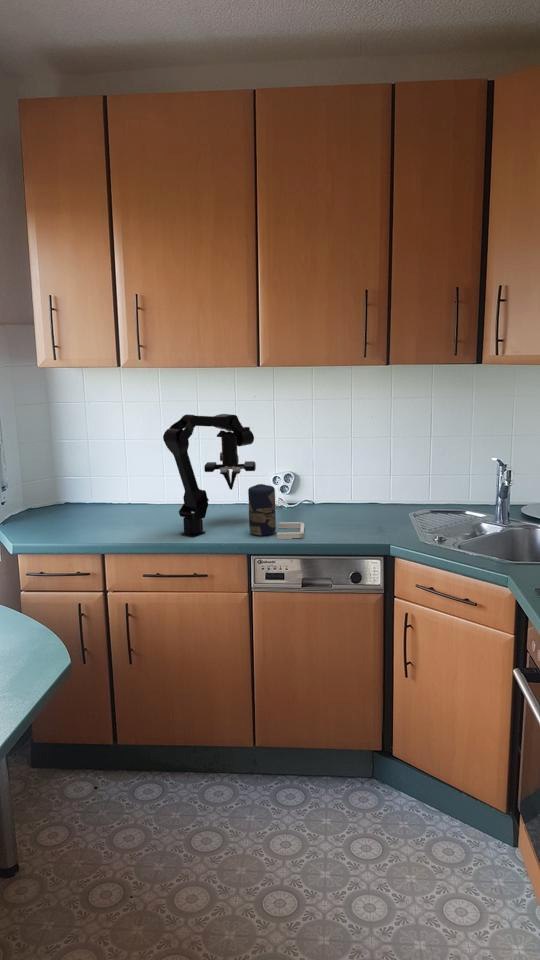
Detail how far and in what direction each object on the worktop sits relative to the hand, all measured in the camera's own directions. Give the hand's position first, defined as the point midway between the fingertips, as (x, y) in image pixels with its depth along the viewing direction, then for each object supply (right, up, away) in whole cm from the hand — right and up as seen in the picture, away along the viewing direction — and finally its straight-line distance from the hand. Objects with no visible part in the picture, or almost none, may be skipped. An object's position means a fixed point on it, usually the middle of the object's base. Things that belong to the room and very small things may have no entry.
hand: (231, 489), depth 278 cm
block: (+22, -15, -13) cm, 30 cm away
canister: (+12, -16, -12) cm, 23 cm away
